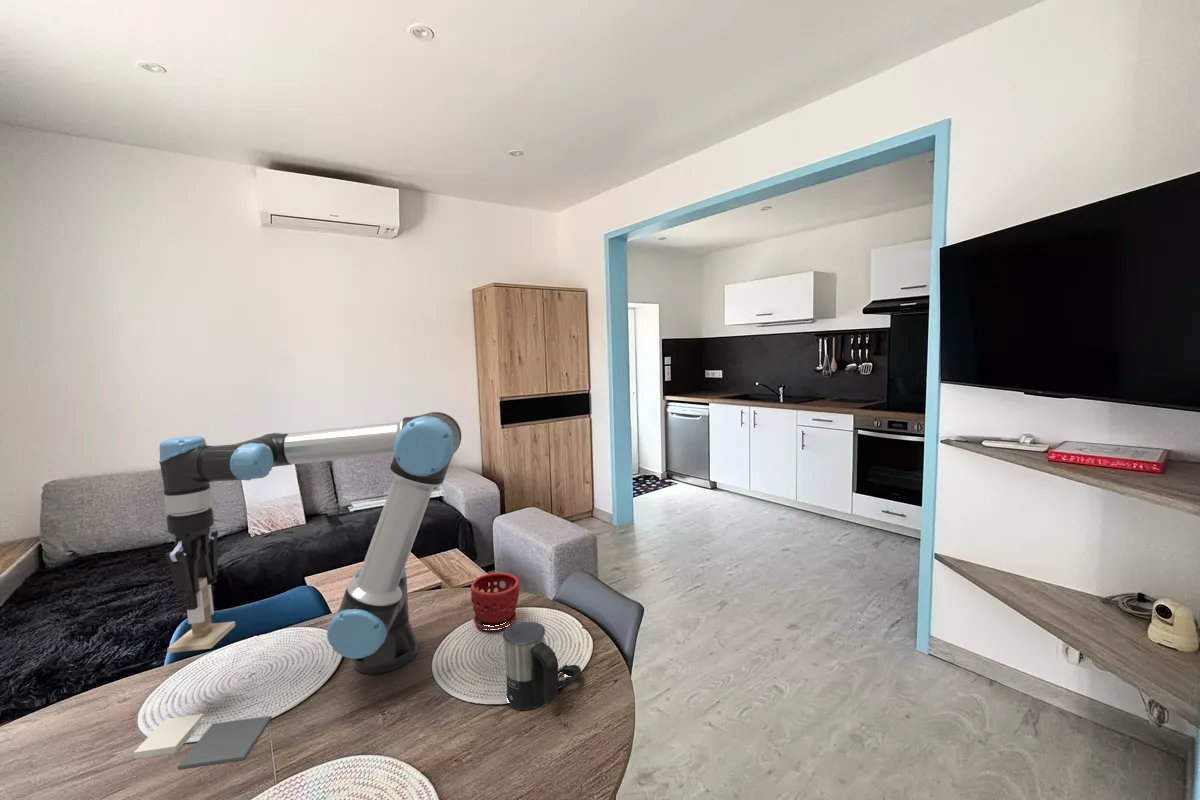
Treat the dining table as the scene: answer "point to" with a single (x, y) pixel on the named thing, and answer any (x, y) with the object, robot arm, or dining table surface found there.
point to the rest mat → (225, 742)
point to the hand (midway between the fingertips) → (201, 618)
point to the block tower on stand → (202, 628)
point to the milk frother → (532, 667)
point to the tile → (168, 736)
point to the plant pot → (494, 600)
